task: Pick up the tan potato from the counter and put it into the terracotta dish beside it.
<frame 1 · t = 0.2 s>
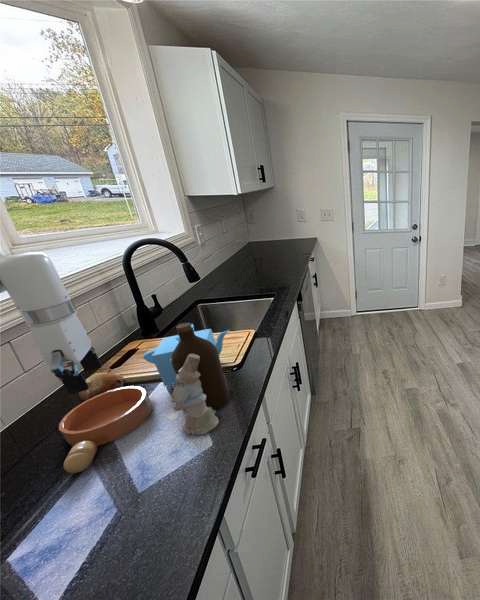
hand: (87, 379, 72), 18 cm above the counter, tool pointing down, fingers open, 9 cm apart
bread roll: (106, 391, 98), on the counter
light blue teapot: (199, 373, 104), on the counter
potato: (85, 463, 73), on the counter
terracotta dish: (113, 421, 85), on the counter
figurine: (202, 425, 82), on the counter
olive oil: (212, 402, 90), on the counter
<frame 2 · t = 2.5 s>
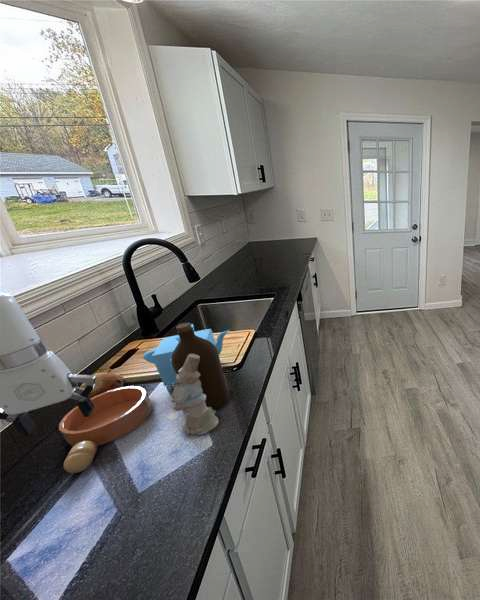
hand: (61, 422, 68), 13 cm above the counter, tool pointing down, fingers open, 9 cm apart
nothing on the counter moved.
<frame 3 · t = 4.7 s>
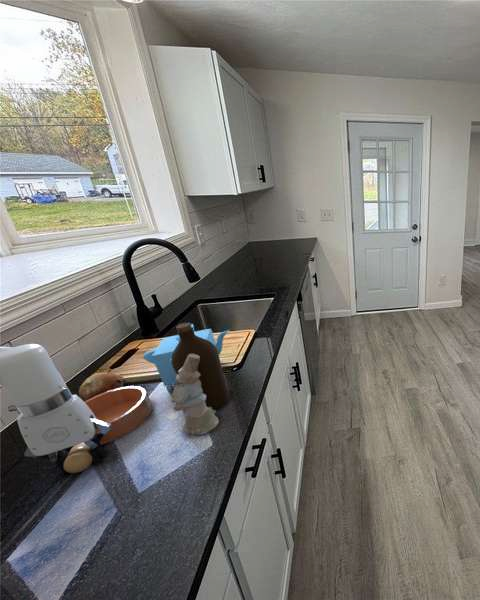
hand: (84, 462, 73), 0 cm above the counter, tool pointing down, fingers closed on potato, 4 cm apart
potato: (85, 463, 73), on the counter, touching gripper
everything else where it was.
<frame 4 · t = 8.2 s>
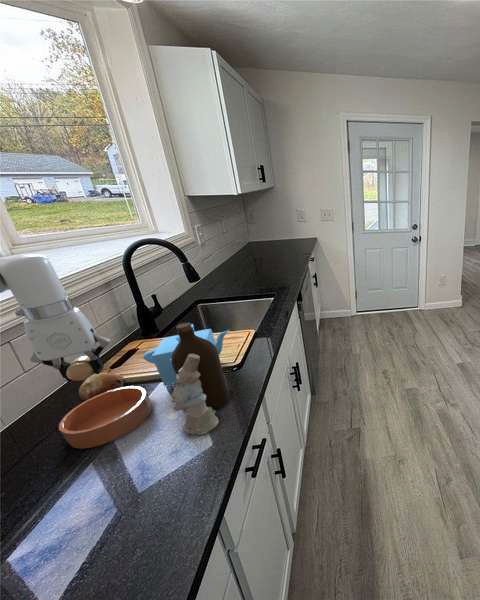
hand: (85, 374, 78), 16 cm above the counter, tool pointing down, fingers closed on potato, 4 cm apart
potato: (86, 375, 79), point 16 cm above the counter, touching gripper
everything else where it was.
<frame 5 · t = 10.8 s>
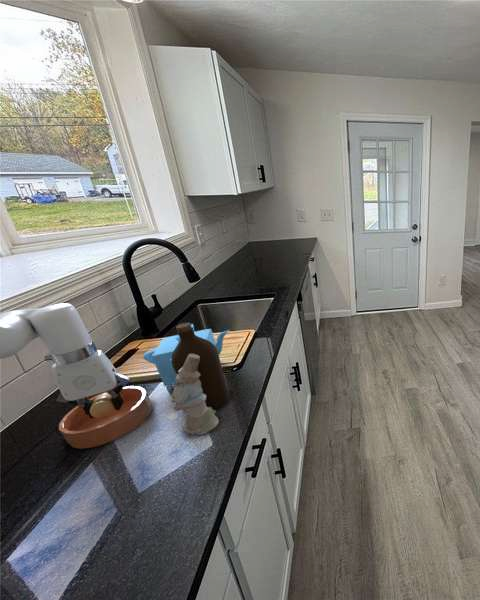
hand: (107, 410, 84), 4 cm above the counter, tool pointing down, fingers closed on potato, 4 cm apart
potato: (107, 411, 84), point 4 cm above the counter, touching gripper
everything else where it was.
when the fingers open (1 cm above the counter, at t = 12.1 s): potato stays where it is, resting on terracotta dish.
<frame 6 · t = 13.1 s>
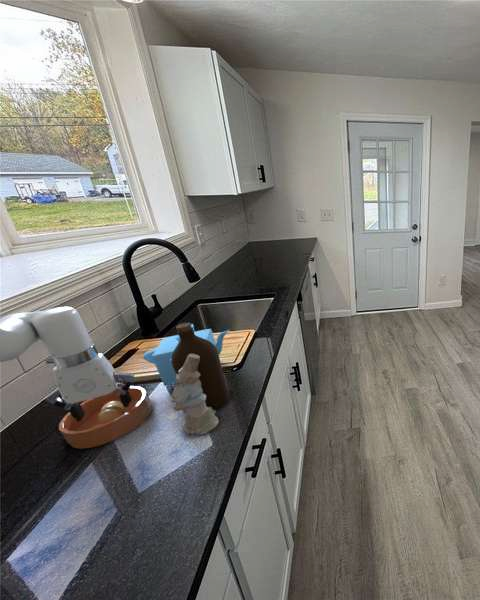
hand: (105, 410, 83), 4 cm above the counter, tool pointing down, fingers open, 9 cm apart
potato: (112, 420, 85), point 1 cm above the counter, tilted 11°, touching terracotta dish
everything else where it was.
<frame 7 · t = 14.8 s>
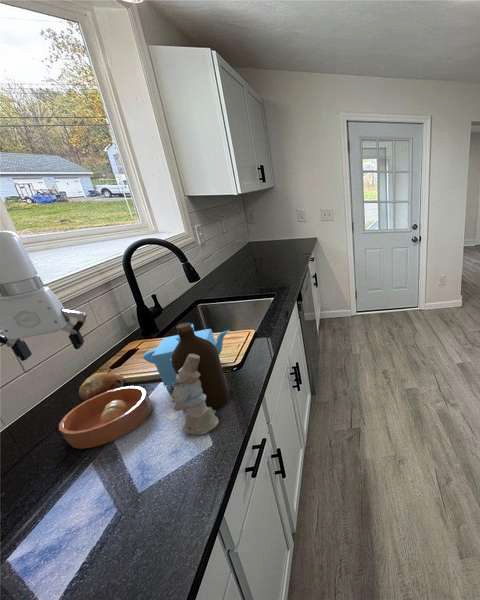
hand: (54, 352, 77), 22 cm above the counter, tool pointing down, fingers open, 9 cm apart
potato: (112, 419, 85), point 1 cm above the counter, tilted 28°, touching terracotta dish
everything else where it was.
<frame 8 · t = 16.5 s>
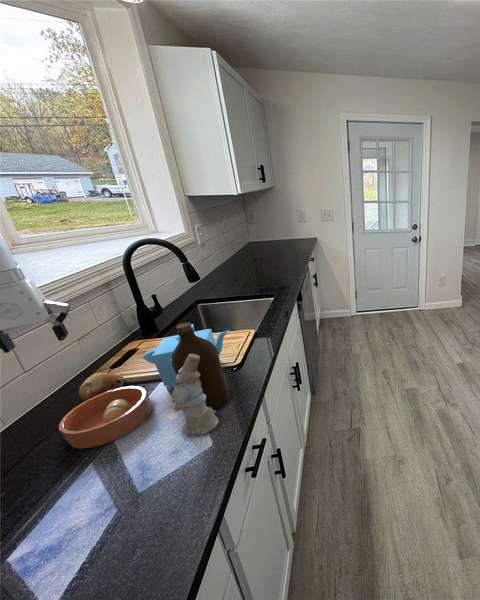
hand: (37, 344, 77), 24 cm above the counter, tool pointing down, fingers open, 9 cm apart
potato: (112, 418, 85), point 1 cm above the counter, tilted 40°, touching terracotta dish
everything else where it was.
at the end: potato inside the target area in the terracotta dish (0.2 cm from its centre), point 1.1 cm above the terracotta dish's base; the gripper is holding nothing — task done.
